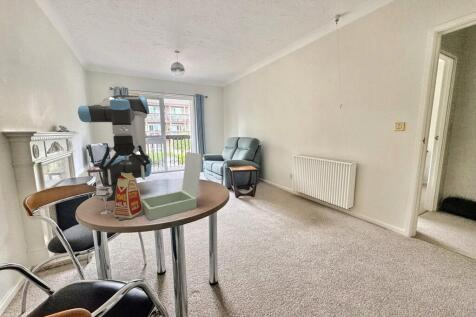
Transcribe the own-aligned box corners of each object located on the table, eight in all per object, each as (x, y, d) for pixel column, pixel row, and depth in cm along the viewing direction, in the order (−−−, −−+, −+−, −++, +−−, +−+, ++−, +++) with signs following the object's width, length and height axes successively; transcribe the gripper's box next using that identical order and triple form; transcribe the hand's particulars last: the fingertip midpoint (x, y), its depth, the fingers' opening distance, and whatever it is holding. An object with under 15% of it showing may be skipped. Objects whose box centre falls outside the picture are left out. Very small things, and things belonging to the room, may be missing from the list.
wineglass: (118, 209, 99) (115, 186, 97) (106, 215, 92) (104, 190, 90) (106, 209, 100) (103, 186, 98) (94, 214, 93) (91, 189, 92)
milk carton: (131, 218, 87) (126, 173, 84) (113, 216, 89) (108, 173, 86) (144, 210, 96) (141, 169, 93) (128, 209, 97) (124, 169, 95)
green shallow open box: (140, 208, 100) (139, 199, 99) (182, 199, 113) (182, 190, 112) (150, 220, 86) (149, 209, 85) (196, 208, 99) (196, 198, 98)
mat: (116, 214, 93) (116, 212, 93) (139, 208, 99) (139, 207, 99) (119, 221, 85) (119, 219, 85) (144, 215, 91) (144, 213, 91)
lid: (186, 151, 112) (188, 152, 113) (182, 190, 112) (184, 190, 113) (201, 154, 98) (203, 154, 99) (196, 198, 98) (198, 197, 99)
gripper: (88, 136, 77) (94, 188, 80) (154, 134, 92) (157, 178, 95) (87, 135, 83) (93, 184, 86) (150, 134, 98) (153, 175, 101)
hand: (127, 181), depth 91 cm, fingers open, 13 cm apart
